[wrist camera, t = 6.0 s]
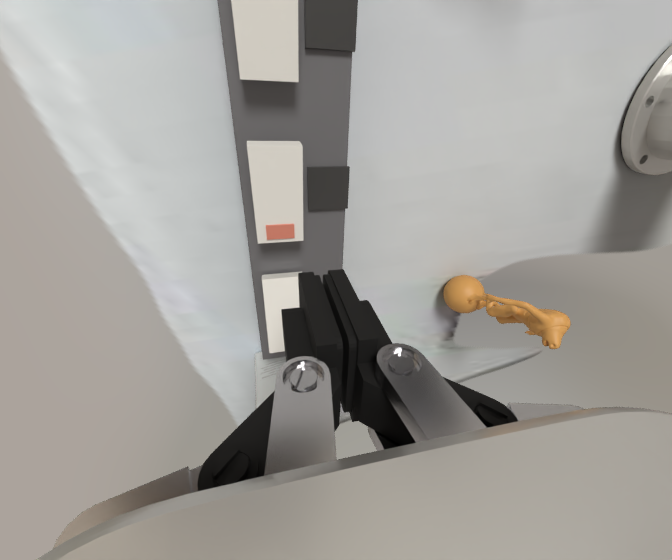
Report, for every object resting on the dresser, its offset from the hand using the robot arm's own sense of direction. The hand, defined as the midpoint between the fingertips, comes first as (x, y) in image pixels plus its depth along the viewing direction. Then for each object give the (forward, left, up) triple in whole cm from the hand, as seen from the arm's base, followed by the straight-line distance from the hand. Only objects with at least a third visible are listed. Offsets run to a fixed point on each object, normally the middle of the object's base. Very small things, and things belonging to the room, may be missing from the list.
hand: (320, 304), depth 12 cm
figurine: (-18, +9, -16) cm, 26 cm away
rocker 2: (+1, -2, -10) cm, 10 cm away
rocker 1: (+1, -11, -10) cm, 14 cm away
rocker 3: (+1, +7, -10) cm, 12 cm away
